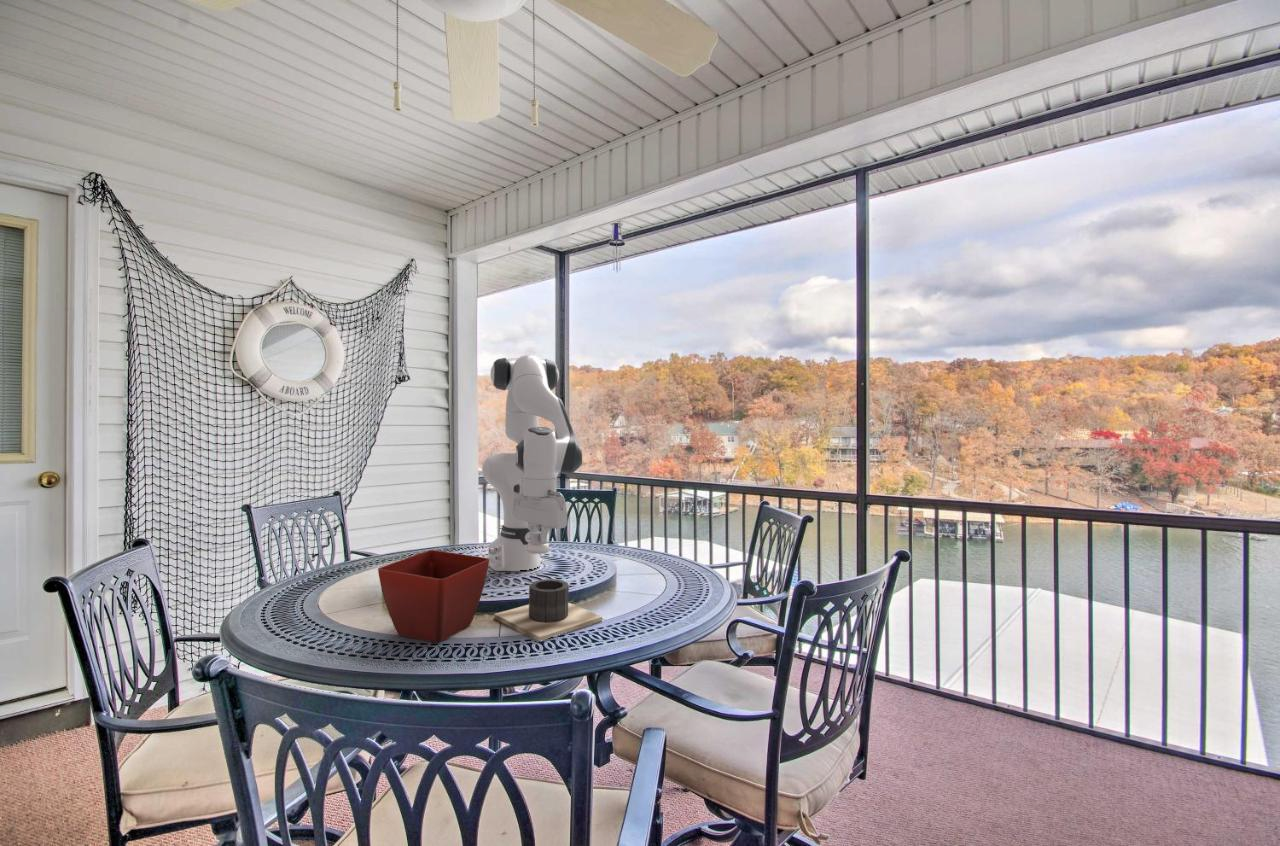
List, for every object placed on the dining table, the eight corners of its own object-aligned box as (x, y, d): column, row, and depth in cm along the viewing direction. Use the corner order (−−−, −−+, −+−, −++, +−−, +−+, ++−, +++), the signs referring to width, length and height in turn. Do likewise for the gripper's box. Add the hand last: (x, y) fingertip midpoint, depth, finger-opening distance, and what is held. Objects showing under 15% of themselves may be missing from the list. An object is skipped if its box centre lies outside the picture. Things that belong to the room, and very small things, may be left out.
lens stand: (494, 618, 153) (495, 583, 153) (555, 601, 168) (556, 569, 167) (539, 642, 139) (540, 604, 139) (602, 621, 154) (603, 586, 153)
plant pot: (440, 652, 132) (441, 578, 132) (374, 638, 139) (375, 568, 138) (490, 622, 150) (491, 558, 150) (429, 611, 157) (430, 549, 156)
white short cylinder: (535, 554, 152) (535, 535, 151) (523, 550, 155) (523, 532, 155) (553, 551, 156) (553, 532, 155) (540, 547, 159) (540, 529, 159)
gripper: (573, 491, 150) (572, 545, 150) (527, 483, 165) (526, 532, 165) (553, 493, 146) (552, 549, 146) (508, 485, 160) (507, 535, 160)
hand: (538, 540), depth 155 cm, fingers closed on white short cylinder
